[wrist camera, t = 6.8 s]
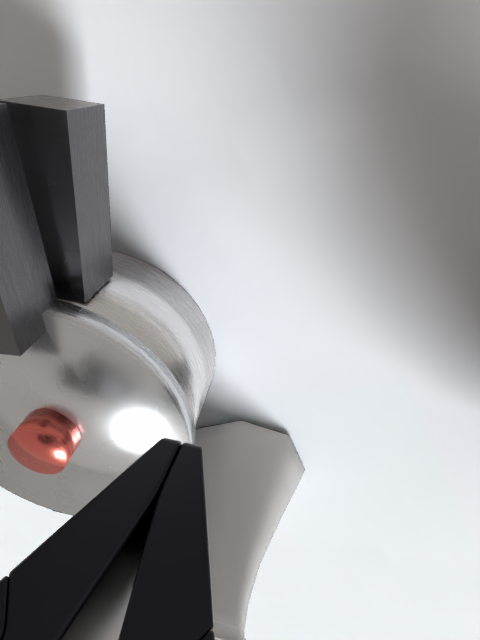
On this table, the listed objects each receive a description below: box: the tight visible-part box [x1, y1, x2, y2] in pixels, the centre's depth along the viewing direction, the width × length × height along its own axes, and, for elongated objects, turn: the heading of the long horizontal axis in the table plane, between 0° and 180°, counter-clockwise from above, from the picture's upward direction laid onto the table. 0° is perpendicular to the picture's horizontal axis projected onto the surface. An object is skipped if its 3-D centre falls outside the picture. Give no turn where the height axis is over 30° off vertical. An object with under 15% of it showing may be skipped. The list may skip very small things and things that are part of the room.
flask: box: [195, 421, 305, 640], centre depth 22 cm, size 7×7×10 cm
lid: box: [0, 103, 196, 515], centre depth 15 cm, size 18×12×2 cm, turn 1°
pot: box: [0, 95, 216, 516], centre depth 20 cm, size 20×11×5 cm, turn 174°
